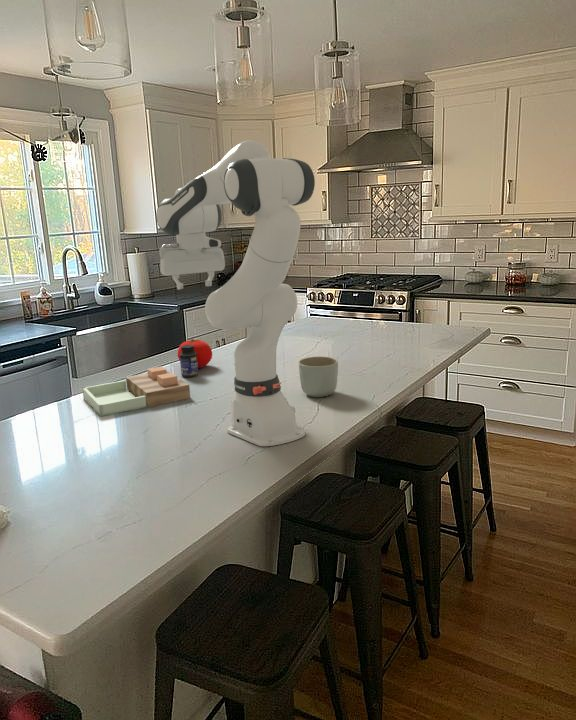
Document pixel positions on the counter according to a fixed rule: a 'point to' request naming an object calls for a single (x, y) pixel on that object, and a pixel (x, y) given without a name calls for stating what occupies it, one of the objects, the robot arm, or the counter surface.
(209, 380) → the counter surface
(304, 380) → the planter
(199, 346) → the tomato
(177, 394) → the board
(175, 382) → the tile
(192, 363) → the pill bottle
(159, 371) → the tile
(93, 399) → the tray
